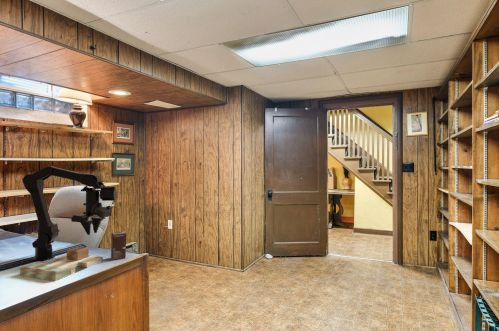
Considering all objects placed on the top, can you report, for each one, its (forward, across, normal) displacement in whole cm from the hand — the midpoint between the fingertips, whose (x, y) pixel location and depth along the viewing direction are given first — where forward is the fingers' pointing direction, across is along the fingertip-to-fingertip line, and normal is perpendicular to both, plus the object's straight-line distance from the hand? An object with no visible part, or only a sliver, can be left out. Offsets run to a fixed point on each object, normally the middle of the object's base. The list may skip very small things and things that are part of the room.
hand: (92, 233), depth 142 cm
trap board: (+11, -15, 0) cm, 19 cm away
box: (+11, +3, -12) cm, 17 cm away
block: (+9, -8, 0) cm, 12 cm away
